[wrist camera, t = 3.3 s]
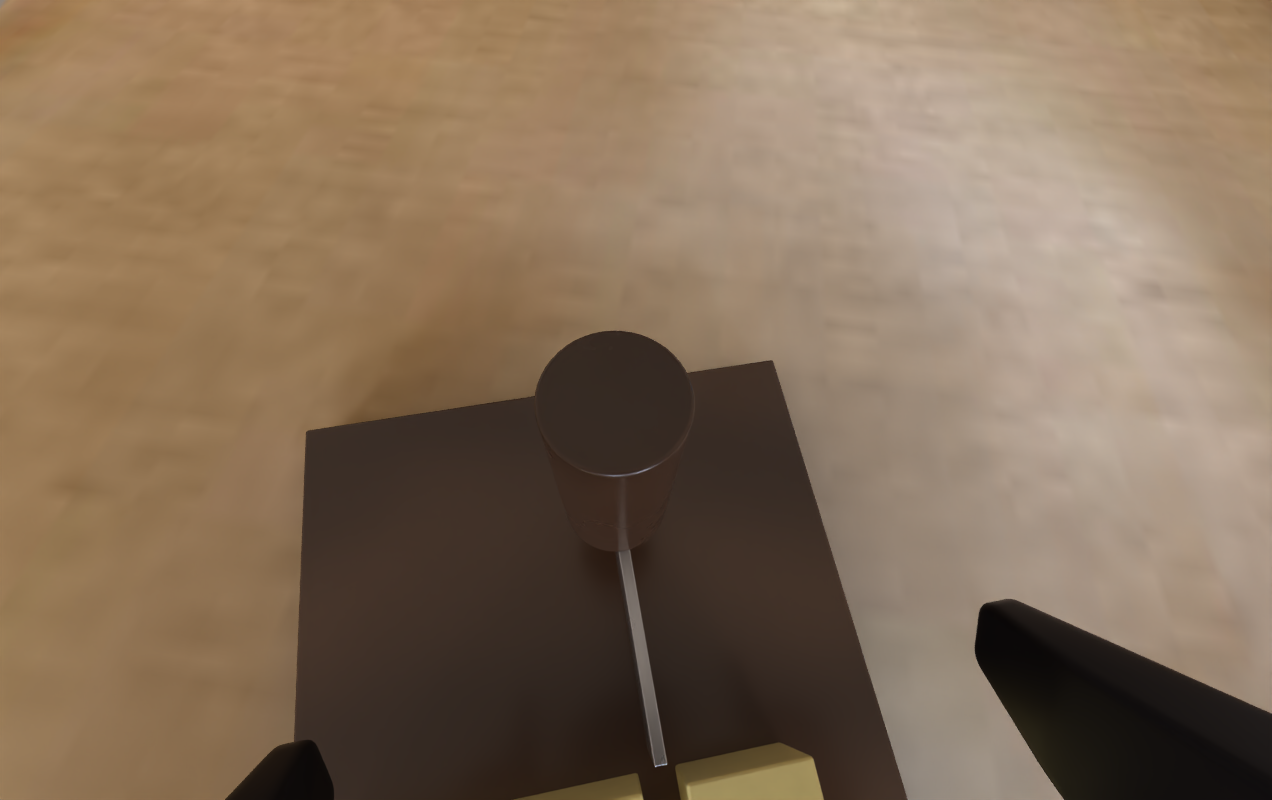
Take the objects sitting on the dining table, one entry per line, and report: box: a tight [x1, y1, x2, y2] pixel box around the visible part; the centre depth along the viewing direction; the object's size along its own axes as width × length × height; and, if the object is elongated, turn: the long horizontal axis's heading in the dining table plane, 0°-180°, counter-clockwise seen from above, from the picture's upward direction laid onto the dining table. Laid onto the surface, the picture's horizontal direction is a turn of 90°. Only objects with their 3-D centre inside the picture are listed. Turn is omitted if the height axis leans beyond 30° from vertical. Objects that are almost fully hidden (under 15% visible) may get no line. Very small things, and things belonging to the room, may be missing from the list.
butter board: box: [294, 360, 908, 800], centre depth 17 cm, size 20×16×2 cm
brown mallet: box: [534, 331, 695, 767], centre depth 13 cm, size 7×3×10 cm, turn 10°
